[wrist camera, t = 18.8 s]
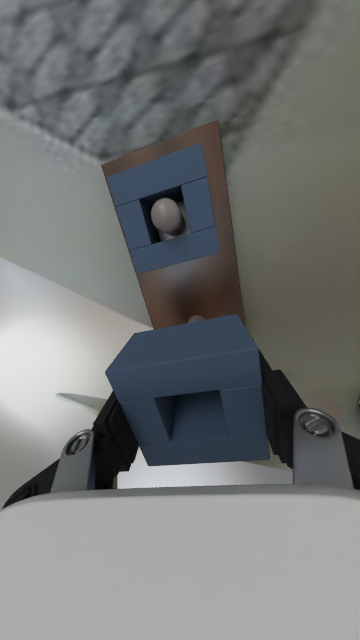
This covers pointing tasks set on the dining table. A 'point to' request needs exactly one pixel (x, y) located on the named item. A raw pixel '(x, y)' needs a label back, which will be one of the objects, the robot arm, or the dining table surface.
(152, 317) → the wooden peg board
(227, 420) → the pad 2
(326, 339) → the dining table surface
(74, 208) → the dining table surface
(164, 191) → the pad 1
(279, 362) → the dining table surface
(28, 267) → the dining table surface
